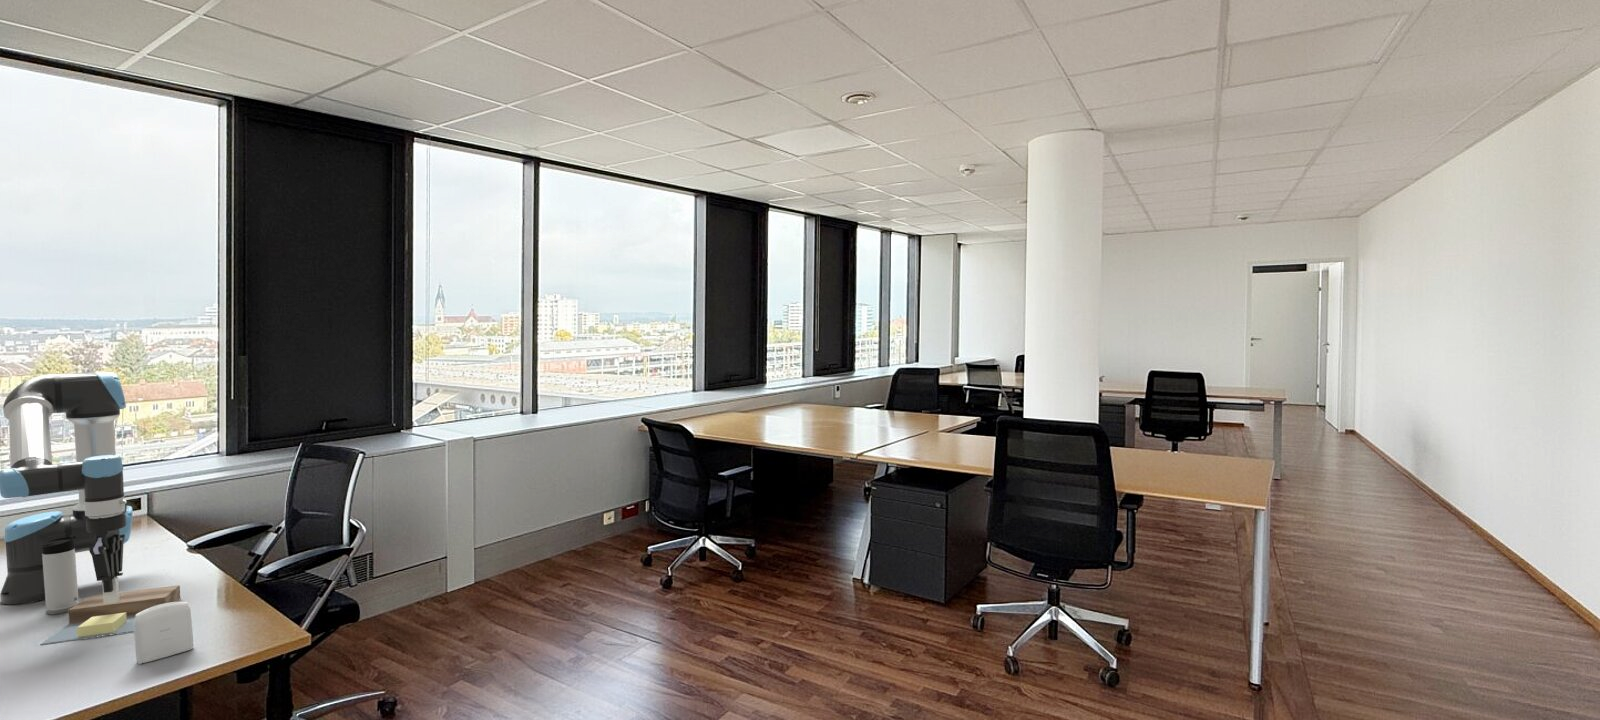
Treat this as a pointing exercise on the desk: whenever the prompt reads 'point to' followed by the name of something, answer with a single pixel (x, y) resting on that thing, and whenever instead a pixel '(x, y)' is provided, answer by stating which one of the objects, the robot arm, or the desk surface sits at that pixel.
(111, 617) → the note pad
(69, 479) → the robot arm
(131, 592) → the brown wooden block
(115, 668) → the desk surface
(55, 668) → the desk surface
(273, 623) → the desk surface
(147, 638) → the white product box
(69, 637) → the rubber mat
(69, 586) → the travel mug
